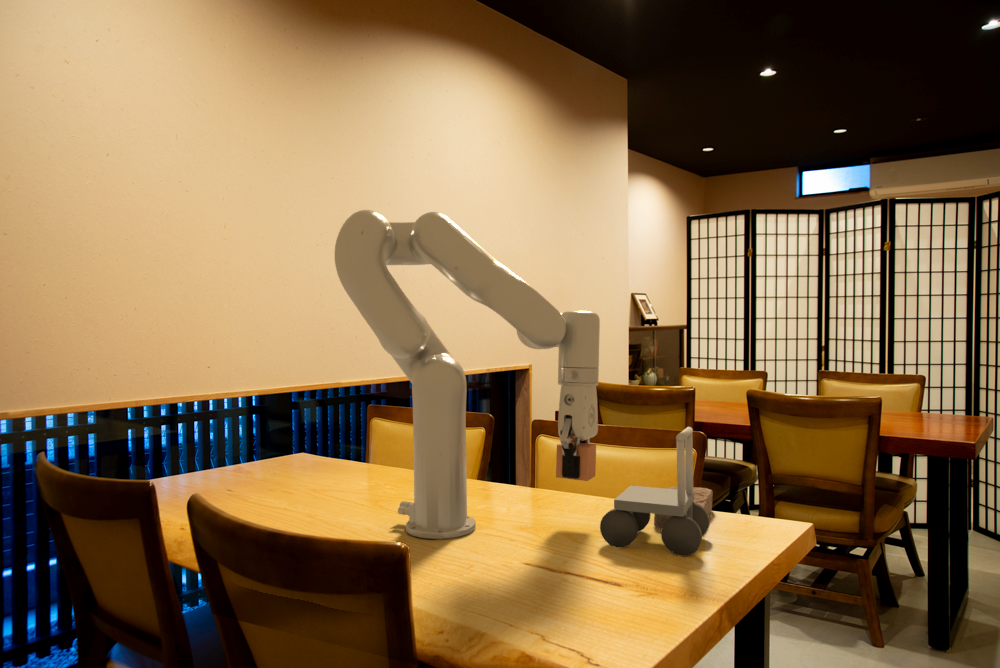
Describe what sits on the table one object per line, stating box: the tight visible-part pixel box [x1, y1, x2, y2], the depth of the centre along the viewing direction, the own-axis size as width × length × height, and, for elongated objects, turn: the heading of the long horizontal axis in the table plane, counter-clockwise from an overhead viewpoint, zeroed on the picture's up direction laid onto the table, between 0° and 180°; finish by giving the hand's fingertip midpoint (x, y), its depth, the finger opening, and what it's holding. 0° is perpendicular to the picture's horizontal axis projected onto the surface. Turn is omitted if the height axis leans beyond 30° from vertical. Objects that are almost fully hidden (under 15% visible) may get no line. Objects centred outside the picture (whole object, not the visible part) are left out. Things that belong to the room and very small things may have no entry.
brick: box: [653, 486, 714, 530], centre depth 119 cm, size 17×8×5 cm, turn 154°
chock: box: [555, 442, 597, 482], centre depth 117 cm, size 6×5×6 cm
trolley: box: [599, 426, 711, 557], centre depth 105 cm, size 16×11×19 cm
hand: (575, 473), depth 117 cm, fingers closed on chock, 5 cm apart
